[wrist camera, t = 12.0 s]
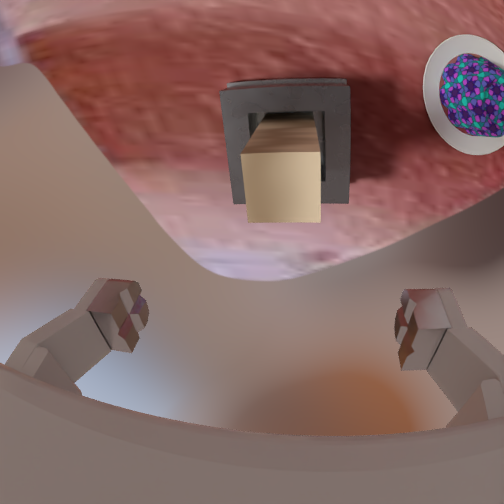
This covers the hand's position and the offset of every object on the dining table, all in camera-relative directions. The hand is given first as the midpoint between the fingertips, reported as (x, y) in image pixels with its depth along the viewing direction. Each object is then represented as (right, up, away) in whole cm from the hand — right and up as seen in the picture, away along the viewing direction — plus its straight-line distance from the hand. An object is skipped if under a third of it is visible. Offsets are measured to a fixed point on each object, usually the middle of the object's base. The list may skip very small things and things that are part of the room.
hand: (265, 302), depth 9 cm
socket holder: (+3, +12, +18) cm, 22 cm away
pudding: (+20, +16, +12) cm, 29 cm away
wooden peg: (+3, +11, +17) cm, 21 cm away
